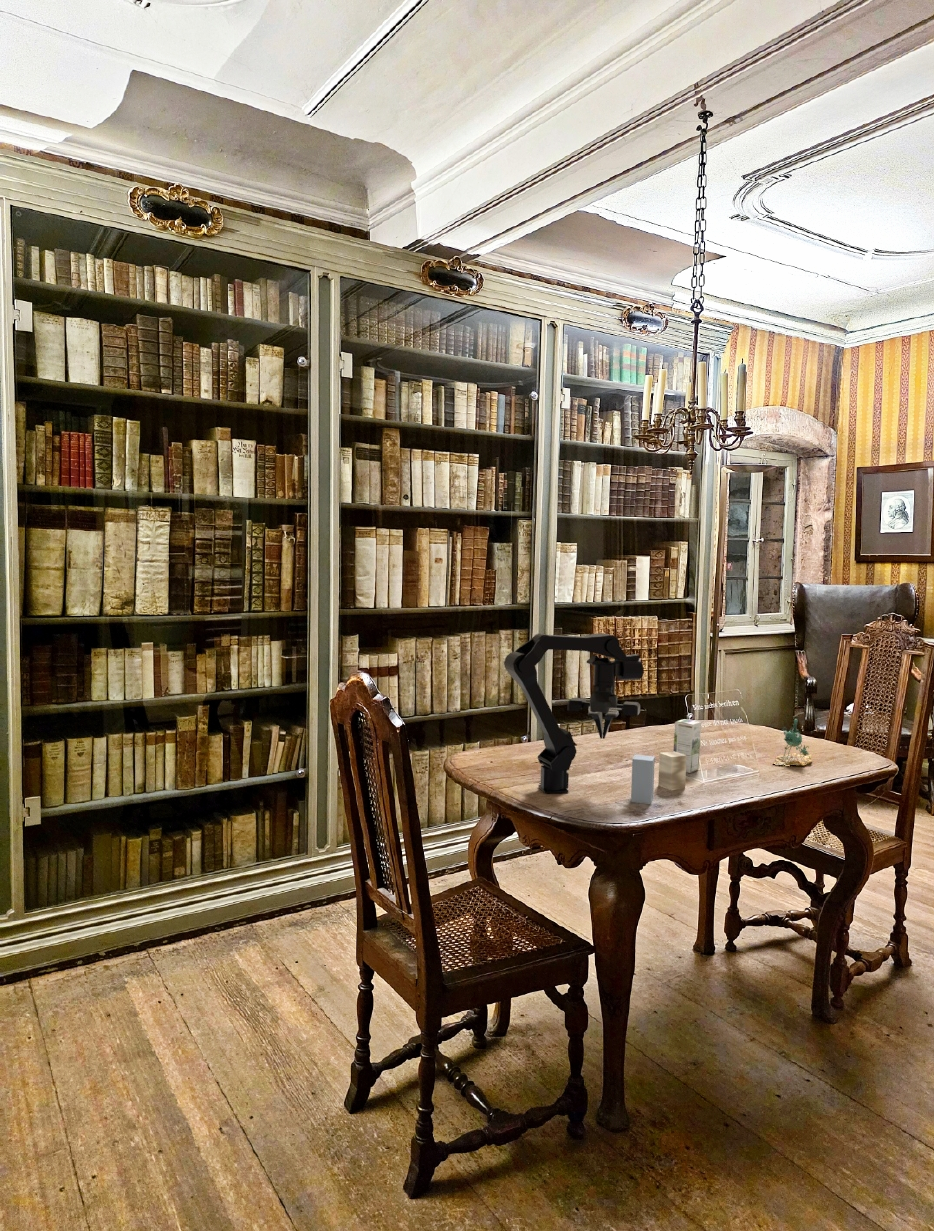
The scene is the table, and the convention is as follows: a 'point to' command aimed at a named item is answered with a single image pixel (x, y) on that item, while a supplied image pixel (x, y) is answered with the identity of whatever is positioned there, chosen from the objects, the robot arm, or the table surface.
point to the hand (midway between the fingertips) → (602, 738)
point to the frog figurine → (795, 740)
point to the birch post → (672, 770)
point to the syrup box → (688, 742)
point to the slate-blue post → (642, 779)
